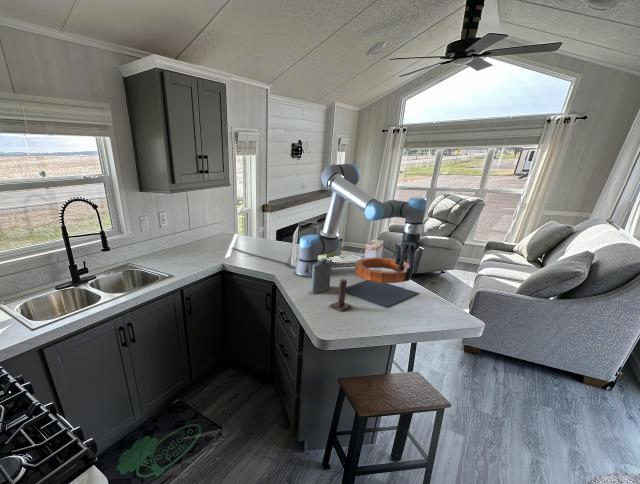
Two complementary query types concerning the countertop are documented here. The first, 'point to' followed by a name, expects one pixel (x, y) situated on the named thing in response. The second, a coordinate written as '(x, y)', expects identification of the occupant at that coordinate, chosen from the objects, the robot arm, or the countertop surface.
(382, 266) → the ring
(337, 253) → the protein box
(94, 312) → the countertop surface
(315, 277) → the grey flat box
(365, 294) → the mat
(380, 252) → the coffeecake box
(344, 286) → the post
